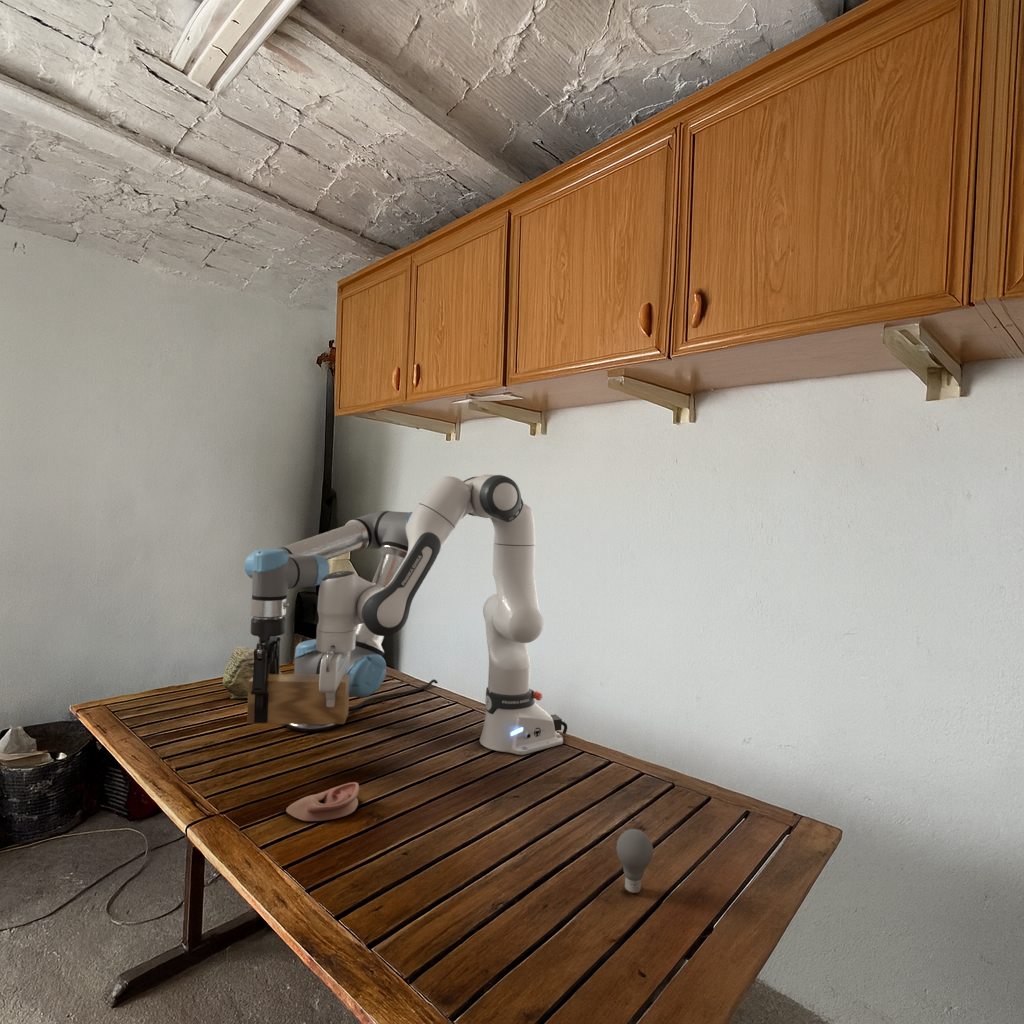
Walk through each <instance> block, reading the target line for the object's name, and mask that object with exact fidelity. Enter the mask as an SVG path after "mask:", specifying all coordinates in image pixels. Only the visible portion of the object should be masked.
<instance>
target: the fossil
mask: <svg viewBox="0 0 1024 1024" xmlns="http://www.w3.org/2000/svg"><path fill="white" fill-rule="evenodd" d="M254 649H255V648H251V647H247V646H246V647H245V646H238V647H237V648H236V649H235V650H233V651H232V653H231V656H230V657H229V659H228V660H227V663H226V666H225V668H224V671H223V675H222V676H223V677H222V685H223V687H224V688H225V690H226V691H228V693H229V698H230V699H248V682H249V680H250V679H251V678H252V677H253V669H254V653H253V652H254ZM279 674H283V673H282V672H281V669H279Z"/></svg>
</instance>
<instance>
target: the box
mask: <svg viewBox="0 0 1024 1024" xmlns="http://www.w3.org/2000/svg"><path fill="white" fill-rule="evenodd" d="M319 677H320V674H294V673H282V674H269V679H268V688H267V693H268V719H267V723H254V710H255V694H251V692H252V686H253V677H252V678H251V679H250V680H249V682H248V698H247V710H246V711H247V712H246V713H247V715H246V724H247V725H248V724H251V725H252V724H253V725H254V724H255V725H256V724H259V725H263V724H264V725H267V724H268V725H269V724H270V725H286V724H340V725H345V723H346V721H347V719H348V716H349V711H350V710H349V707H350V705H349V704H350V696H349V684H350V675H344V676H343V678H342V680H341V682H340V685H339V686H338V688H337V690H336V692H335V697H336V700H335V705H334V707H327V706H326V695H325V693H320V691H319Z"/></svg>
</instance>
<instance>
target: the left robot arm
mask: <svg viewBox="0 0 1024 1024" xmlns="http://www.w3.org/2000/svg"><path fill="white" fill-rule="evenodd" d="M412 513H413V511H410V512H408V511H392V510H391V511H390V510H379V511H375V512H372V513H368V514H365V515H362V516H359V517H356V518H353V519H350V520H348V521H347V522H346V523H345V525H343V526H340V527H337V528H334V529H331V530H328V531H325V532H323V533H319V534H317V535H314V536H310V537H307V538H304V539H302V540H298V541H296V542H293V543H290V544H286V545H284V546H281V547H277V548H262V549H258V550H255V551H252V552H250V553H249V554H248V556H246V558H245V560H244V571H245V573H246V575H247V576H248V577H249V578H250V579H252V580H251V604H250V605H251V606H250V615H251V617H252V618H251V619H250V634H251V635H252V636H254V637H258V642H257V643H256V647H255V648H253V649H254V652H253V653H254V669H253V686H252V692H251V694H255V710H254V723H267V719H268V693H267V688H268V679H269V674H279V670H280V660H281V659H280V654H281V651H280V650H281V640H282V639H281V636H282V635H284V634H286V628H287V618H286V617H285V616H286V615H287V608H288V607H289V606H290V603H289V602H287V598H288V590H291V589H298V588H299V589H300V588H307V587H311V588H313V587H315V586H320V584H321V581H322V579H323V578H324V577H325V576H326V575H328V574H330V564H329V562H328V561H329V560H332V559H335V558H337V557H340V556H343V555H344V554H347V553H351V552H353V551H355V552H363V551H365V550H369V549H371V550H373V549H374V550H375V549H377V550H379V552H380V553H381V555H382V556H381V559H380V561H379V564H378V566H377V569H376V571H375V574H374V576H373V579H372V582H371V583H374V584H377V585H381V586H383V587H386V586H387V585H388V584H389V583H390V581H391V580H392V578H393V577H394V575H395V573H396V572H397V570H398V568H399V567H400V565H401V564H402V562H403V560H404V559H405V557H406V555H407V552H408V539H407V536H406V525H407V522H408V520H409V518H410V516H411V514H412ZM384 639H385V636H379V635H376V634H374V633H372V632H371V631H369V629H368V628H367V627H366V625H365V624H358V625H357V626H356V642H355V649H354V650H352V651H351V656H350V663H349V667H348V670H347V672H346V674H345V675H350V684H349V698H350V697H351V698H360V699H361V698H366V699H364V700H363V701H361V702H360V703H358V704H356V705H352V706H349V710H348V711H351V710H356V709H359V708H361V707H362V706H365V705H366V704H367V703H369V702H373V701H377V700H382V699H387V698H391V697H398V696H403V695H404V696H405V695H408V694H409V695H410V694H414V693H416V692H419V691H423V690H425V689H427V688H429V687H430V686H432V684H433V683H434V684H439V682H438V681H437V680H436V679H434V678H433V679H431V680H430V681H429V682H428V683H427V684H425V685H423V686H420V687H417V688H413V689H409V690H405V691H399V692H394V693H393V692H392V693H388V694H387V693H386V694H383V695H377V696H373V697H370V696H371V695H372V694H374V693H376V692H377V691H378V690H379V689H380V687H382V684H383V683H384V680H385V678H386V675H387V668H386V667H387V663H386V660H385V659H384V657H383V656H384V655H385V650H384V648H383V645H382V644H383V641H384ZM294 653H295V654H294V657H293V659H294V660H293V662H294V663H293V665H294V667H293V674H320V665H321V660H322V658H323V657H322V656H321V652H320V651H318V650H316V638H313V639H308V640H304V641H302V642H299V643H298V644H297V645H296V646H295V652H294ZM367 697H369V698H367ZM340 725H341V724H285V726H286V728H287V729H289V730H291V731H294V732H295V731H296V732H301V733H316V732H325V731H329V730H332V729H335V728H337V727H339V726H340Z"/></svg>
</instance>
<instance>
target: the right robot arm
mask: <svg viewBox="0 0 1024 1024" xmlns="http://www.w3.org/2000/svg"><path fill="white" fill-rule="evenodd" d="M412 512H413V513H412V514H411V516H410V518H409V520H408V522H407V525H406V536H407V539H408V552H407V555H406V557H405V559H404V560H403V562H402V564H401V565H400V567H399V568H398V570H397V572H396V573H395V575H394V577H393V578H392V580H391V581H390V583H389V584H388V585H387V586H386V587H383V586H381V585H377V584H374V583H372V582H370V581H369V580H366V579H364V578H363V577H361V576H359V575H357V574H356V572H354V571H351V570H341V571H340V570H339V571H335V572H331V573H329V574H328V575H326V576H325V577H324V578H323V579H322V581H321V584H320V585H319V588H318V596H317V609H316V610H317V611H316V612H317V614H318V621H317V625H316V636H315V639H316V650H318V651H320V652H321V656H322V657H323V658H322V660H321V665H320V677H319V691H320V693H325V695H326V706H327V707H334V705H335V700H336V697H335V692H336V690H337V688H338V686H339V685H340V682H341V680H342V678H343V676H344V675H345V674H346V672H347V670H348V667H349V663H350V656H351V651H352V650H354V649H355V642H356V626H357V625H358V624H365V625H366V627H367V628H368V629H369V631H371V632H372V633H374V634H376V635H379V636H384V637H388V636H392V635H395V634H396V633H398V632H400V631H401V629H403V627H405V625H406V623H407V621H408V618H409V615H410V611H411V610H410V609H411V606H412V602H413V600H414V598H415V597H416V594H417V592H418V591H419V590H420V587H421V586H422V584H423V582H424V580H425V579H426V578H427V576H428V574H429V572H430V571H431V569H432V567H433V565H434V563H435V561H436V560H437V558H438V556H439V554H440V553H441V551H442V549H443V547H444V545H446V543H447V541H448V540H449V539H450V537H451V536H452V534H453V533H454V531H455V530H456V529H457V527H458V526H459V524H460V522H461V521H462V519H464V517H465V516H467V515H469V516H471V517H477V518H484V519H490V521H491V522H492V525H493V533H494V534H493V546H492V547H493V549H492V551H493V552H492V576H493V578H494V583H495V589H496V593H494V594H492V595H490V596H489V597H488V598H487V599H486V600H485V602H484V604H483V607H482V614H483V618H484V623H485V635H486V644H487V654H488V672H487V673H488V675H487V676H488V677H487V687H486V689H485V702H484V703H485V714H484V715H485V716H484V720H483V727H482V731H481V734H480V737H479V743H480V745H482V746H483V747H485V748H487V749H489V750H492V751H496V752H502V753H509V754H514V755H518V756H524V755H528V754H532V753H535V752H539V751H542V750H546V749H549V748H553V747H556V746H560V745H563V744H564V738H563V735H567V731H568V724H567V723H566V722H565V721H563V719H562V718H561V717H559V716H558V715H557V714H550V713H549V712H547V711H546V710H545V709H544V708H542V707H541V706H540V705H539V704H538V703H536V702H535V700H536V701H542V699H543V694H542V693H541V692H539V691H538V690H536V691H534V690H533V689H532V688H531V687H530V682H531V658H530V655H529V652H528V651H529V650H528V647H527V644H529V643H532V642H534V641H535V640H537V639H538V638H539V637H540V636H541V634H542V632H543V629H544V625H545V624H544V617H543V615H542V613H541V609H540V604H539V599H538V591H537V590H538V589H537V585H536V584H537V583H536V577H535V568H536V567H535V565H536V564H535V563H536V562H535V561H536V527H535V518H534V512H533V509H532V508H531V507H530V506H529V505H527V504H526V503H524V501H523V498H522V495H521V491H520V488H519V486H518V484H517V483H516V482H515V480H514V479H512V478H510V477H509V476H505V475H503V474H483V475H480V476H472V477H469V478H466V479H465V480H462V479H460V478H458V477H455V476H449V475H447V476H444V477H442V478H440V479H439V480H438V481H437V482H435V484H434V485H433V486H432V487H431V488H430V489H429V490H428V491H427V492H426V493H425V495H424V496H423V497H422V498H421V500H420V501H419V502H418V504H417V505H416V506H415V508H414V509H413V511H412ZM562 726H563V730H562ZM558 731H562V735H561V734H560V733H559V732H558ZM557 732H558V733H557Z"/></svg>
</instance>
